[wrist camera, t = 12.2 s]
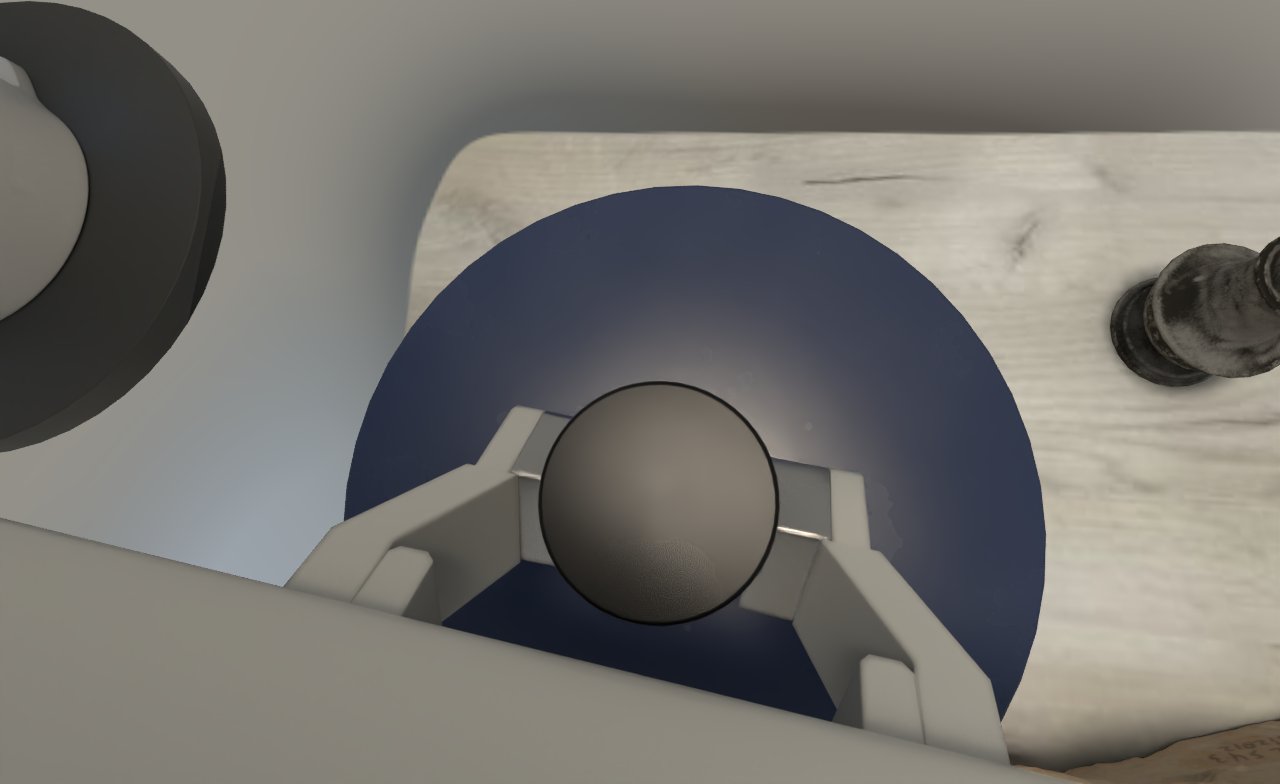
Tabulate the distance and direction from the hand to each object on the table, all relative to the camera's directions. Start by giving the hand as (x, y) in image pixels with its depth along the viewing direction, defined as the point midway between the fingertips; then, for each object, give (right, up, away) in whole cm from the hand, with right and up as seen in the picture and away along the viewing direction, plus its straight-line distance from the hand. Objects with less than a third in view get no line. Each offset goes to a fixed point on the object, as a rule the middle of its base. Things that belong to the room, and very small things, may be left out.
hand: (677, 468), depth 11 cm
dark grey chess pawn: (+24, +4, +21) cm, 32 cm away
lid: (0, -1, +4) cm, 4 cm away
